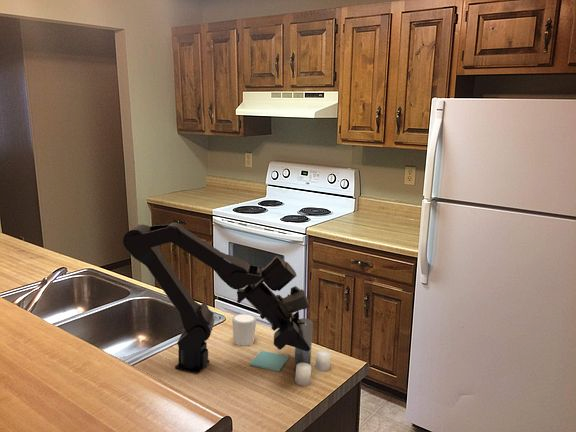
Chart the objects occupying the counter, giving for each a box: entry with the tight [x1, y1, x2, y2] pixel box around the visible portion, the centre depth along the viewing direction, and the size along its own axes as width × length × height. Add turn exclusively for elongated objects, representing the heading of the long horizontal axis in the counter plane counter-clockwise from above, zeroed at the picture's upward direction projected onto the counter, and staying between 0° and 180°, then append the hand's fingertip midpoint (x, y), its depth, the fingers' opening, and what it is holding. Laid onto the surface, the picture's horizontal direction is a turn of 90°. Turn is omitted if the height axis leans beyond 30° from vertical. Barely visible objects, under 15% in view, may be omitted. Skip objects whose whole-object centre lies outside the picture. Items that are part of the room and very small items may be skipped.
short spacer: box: [294, 363, 312, 387], centre depth 117 cm, size 4×4×4 cm
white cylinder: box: [231, 313, 257, 347], centre depth 137 cm, size 7×7×7 cm
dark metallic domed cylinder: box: [293, 318, 314, 373], centre depth 122 cm, size 4×4×13 cm
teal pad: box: [249, 350, 290, 372], centre depth 127 cm, size 8×8×1 cm
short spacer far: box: [315, 349, 332, 372], centre depth 124 cm, size 4×4×4 cm
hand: (308, 346), depth 122 cm, fingers closed on dark metallic domed cylinder, 4 cm apart
